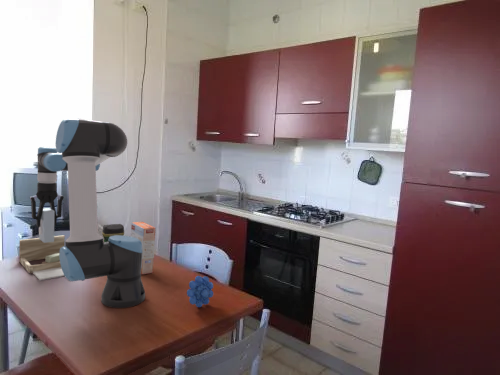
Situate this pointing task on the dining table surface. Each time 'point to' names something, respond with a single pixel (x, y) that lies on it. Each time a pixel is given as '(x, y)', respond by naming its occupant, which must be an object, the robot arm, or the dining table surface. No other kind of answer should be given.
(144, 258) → the cracker box
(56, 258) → the offcut
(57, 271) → the mat
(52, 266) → the rack
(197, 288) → the blue knobbly flower shape
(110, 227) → the coffee jar
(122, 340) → the dining table surface
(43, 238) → the white rectangular box
